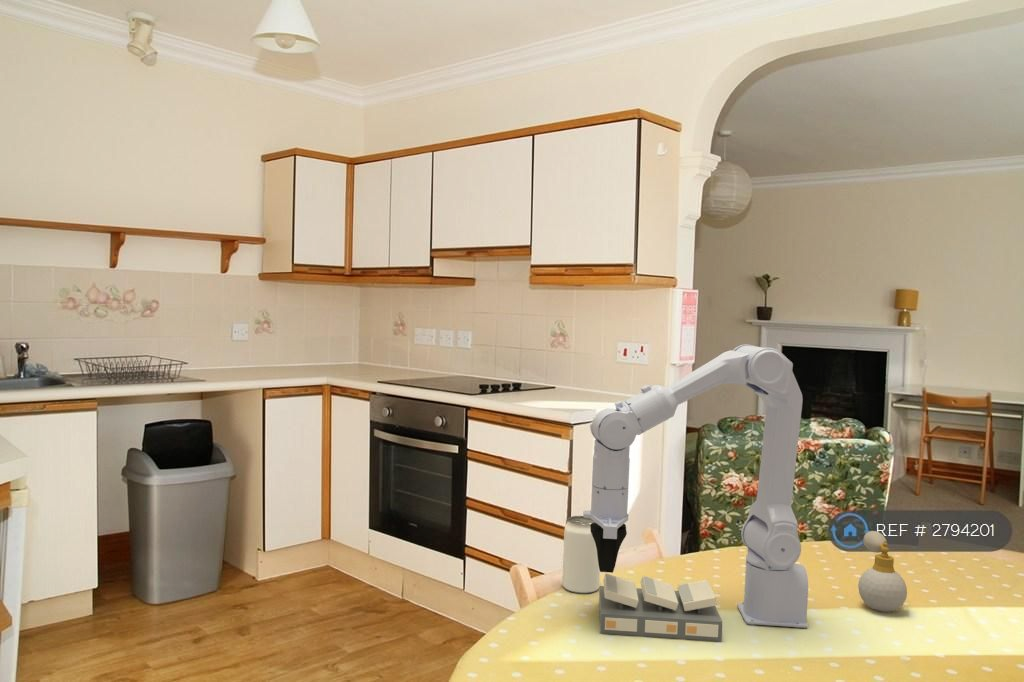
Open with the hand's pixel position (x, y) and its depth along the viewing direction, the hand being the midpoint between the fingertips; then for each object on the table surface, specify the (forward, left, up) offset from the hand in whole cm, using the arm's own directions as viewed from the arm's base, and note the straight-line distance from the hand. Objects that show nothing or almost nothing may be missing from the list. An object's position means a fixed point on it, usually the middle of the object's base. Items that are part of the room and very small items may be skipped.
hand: (606, 570), depth 128 cm
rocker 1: (-2, 0, -3) cm, 4 cm away
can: (+4, -13, -8) cm, 16 cm away
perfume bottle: (-46, -13, -8) cm, 49 cm away
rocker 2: (-14, 0, -3) cm, 15 cm away
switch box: (-8, 0, -8) cm, 11 cm away
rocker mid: (-8, 0, -3) cm, 9 cm away
